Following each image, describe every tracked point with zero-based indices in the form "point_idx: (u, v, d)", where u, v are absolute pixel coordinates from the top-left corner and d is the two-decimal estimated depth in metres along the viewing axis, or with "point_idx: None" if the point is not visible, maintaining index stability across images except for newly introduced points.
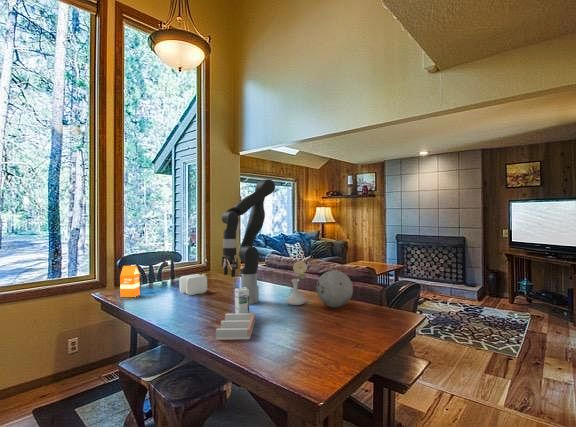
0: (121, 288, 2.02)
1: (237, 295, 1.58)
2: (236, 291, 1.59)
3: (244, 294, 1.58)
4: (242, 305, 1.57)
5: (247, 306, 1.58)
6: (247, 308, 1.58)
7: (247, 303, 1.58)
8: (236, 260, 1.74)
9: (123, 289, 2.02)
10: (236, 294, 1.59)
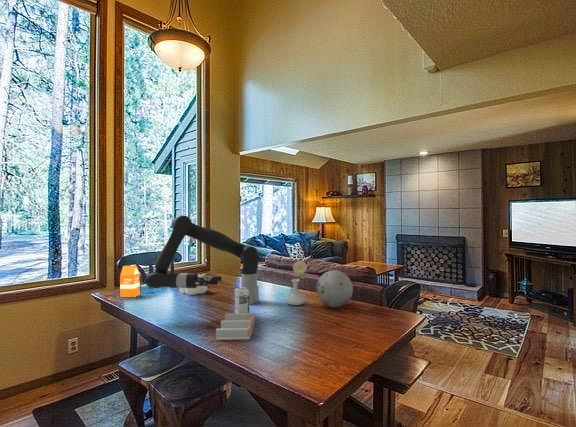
0: (121, 288, 2.02)
1: (237, 295, 1.58)
2: (236, 291, 1.59)
3: (244, 294, 1.58)
4: (242, 305, 1.57)
5: (247, 306, 1.58)
6: (247, 308, 1.58)
7: (247, 303, 1.58)
8: (197, 282, 1.53)
9: (123, 289, 2.02)
10: (236, 294, 1.59)
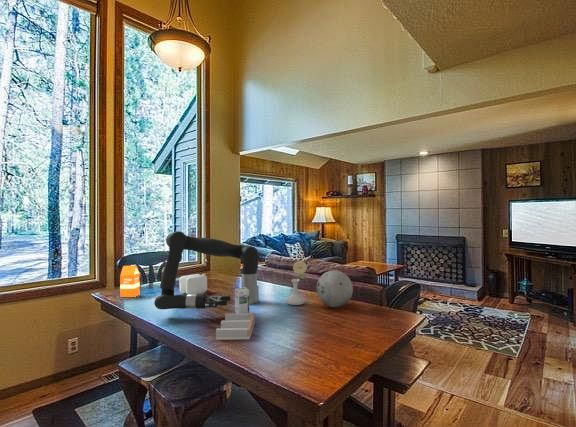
0: (121, 288, 2.02)
1: (237, 295, 1.58)
2: (236, 291, 1.59)
3: (244, 294, 1.58)
4: (242, 305, 1.57)
5: (247, 306, 1.58)
6: (247, 308, 1.58)
7: (247, 303, 1.58)
8: (207, 303, 1.53)
9: (123, 289, 2.02)
10: (236, 294, 1.59)
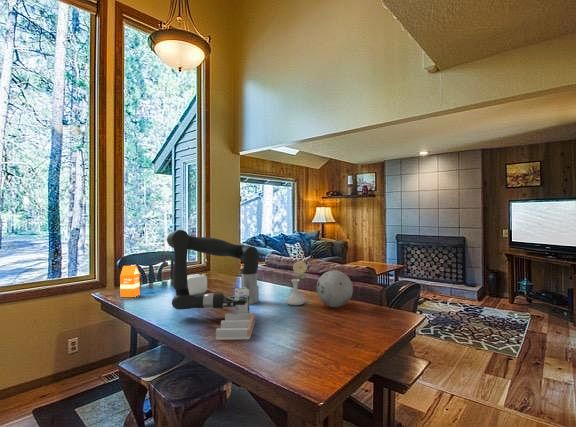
0: (121, 288, 2.02)
1: (237, 295, 1.58)
2: (236, 291, 1.59)
3: (244, 294, 1.58)
4: (242, 305, 1.57)
5: (247, 306, 1.58)
6: (247, 308, 1.58)
7: (247, 303, 1.58)
8: (225, 303, 1.53)
9: (123, 289, 2.02)
10: (236, 294, 1.59)
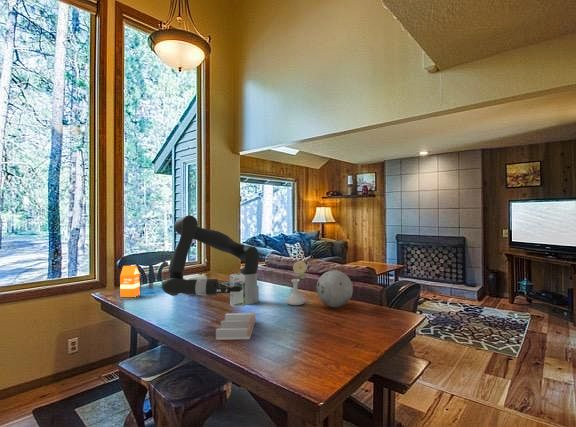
0: (121, 288, 2.02)
1: (232, 281, 1.47)
2: (231, 277, 1.48)
3: (239, 280, 1.47)
4: (237, 292, 1.46)
5: (243, 293, 1.47)
6: (243, 295, 1.47)
7: (243, 290, 1.47)
8: (219, 289, 1.42)
9: (123, 289, 2.02)
10: (231, 280, 1.48)
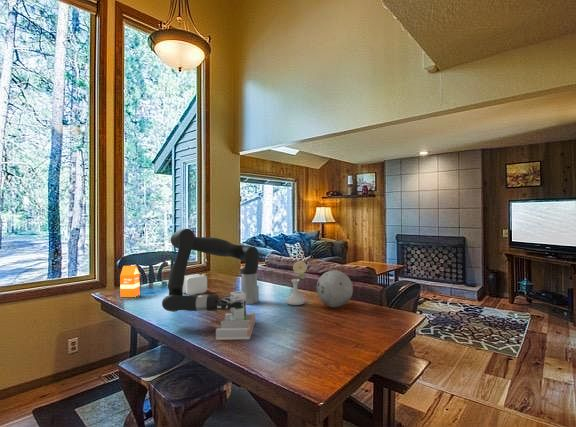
0: (121, 288, 2.02)
1: (233, 300, 1.46)
2: (232, 295, 1.47)
3: (240, 298, 1.46)
4: (238, 310, 1.45)
5: (243, 311, 1.46)
6: (243, 314, 1.46)
7: (243, 308, 1.46)
8: (219, 305, 1.41)
9: (123, 289, 2.02)
10: (232, 298, 1.47)
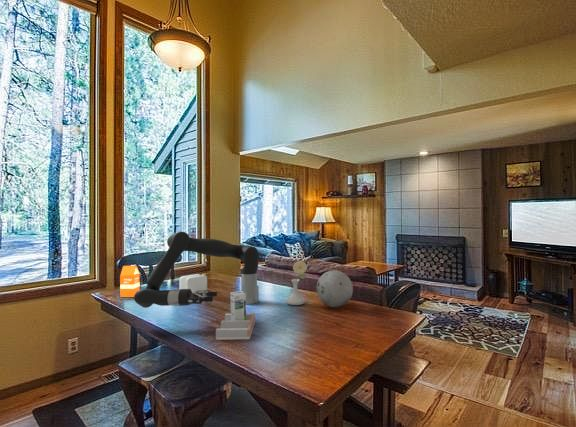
0: (121, 288, 2.02)
1: (233, 299, 1.46)
2: (232, 295, 1.47)
3: (240, 298, 1.46)
4: (238, 310, 1.45)
5: (243, 311, 1.46)
6: (243, 314, 1.46)
7: (243, 308, 1.46)
8: (190, 299, 1.41)
9: (123, 289, 2.02)
10: (232, 298, 1.47)
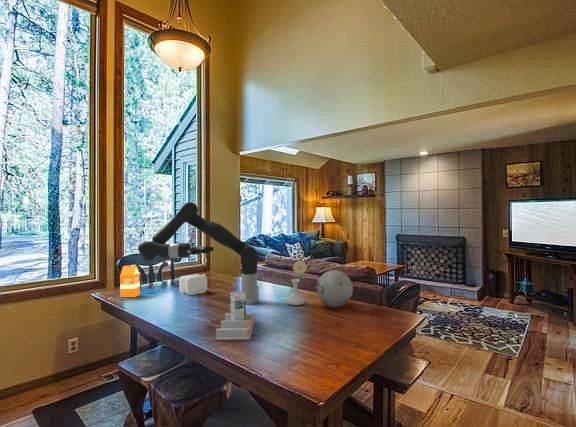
0: (121, 288, 2.02)
1: (233, 299, 1.46)
2: (232, 295, 1.47)
3: (240, 298, 1.46)
4: (238, 310, 1.45)
5: (243, 311, 1.46)
6: (243, 314, 1.46)
7: (243, 308, 1.46)
8: (189, 250, 1.55)
9: (123, 289, 2.02)
10: (232, 298, 1.47)
